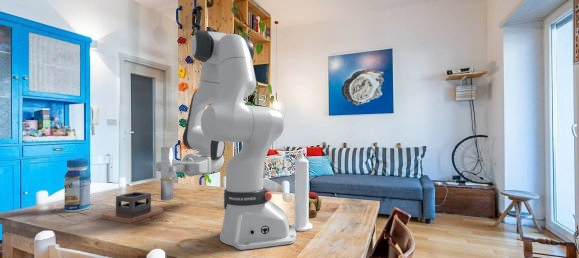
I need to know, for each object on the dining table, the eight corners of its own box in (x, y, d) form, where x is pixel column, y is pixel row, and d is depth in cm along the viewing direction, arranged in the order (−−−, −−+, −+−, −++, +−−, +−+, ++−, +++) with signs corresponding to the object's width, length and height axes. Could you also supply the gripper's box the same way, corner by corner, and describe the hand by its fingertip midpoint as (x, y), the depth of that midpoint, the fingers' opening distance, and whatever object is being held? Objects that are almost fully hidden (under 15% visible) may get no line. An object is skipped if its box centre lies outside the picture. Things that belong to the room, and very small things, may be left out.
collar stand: (136, 208, 108) (137, 189, 109) (163, 212, 103) (163, 192, 103) (101, 218, 95) (101, 197, 96) (129, 223, 90) (130, 201, 90)
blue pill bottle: (92, 209, 107) (93, 159, 107) (65, 214, 100) (65, 160, 101) (88, 205, 112) (88, 157, 113) (61, 209, 106) (62, 159, 106)
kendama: (325, 221, 98) (322, 201, 116) (322, 204, 97) (319, 187, 115) (304, 224, 98) (304, 204, 116) (301, 208, 98) (301, 190, 115)
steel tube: (175, 197, 96) (175, 146, 96) (171, 200, 91) (171, 147, 92) (163, 197, 95) (163, 147, 96) (158, 200, 91) (158, 147, 91)
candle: (311, 232, 83) (311, 151, 83) (288, 230, 85) (288, 151, 85) (313, 224, 90) (313, 150, 90) (292, 223, 91) (293, 149, 92)
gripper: (172, 156, 109) (143, 159, 97) (214, 157, 102) (188, 160, 89) (172, 171, 109) (143, 176, 96) (214, 173, 102) (188, 179, 89)
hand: (165, 168), depth 93 cm, fingers closed on steel tube, 4 cm apart
